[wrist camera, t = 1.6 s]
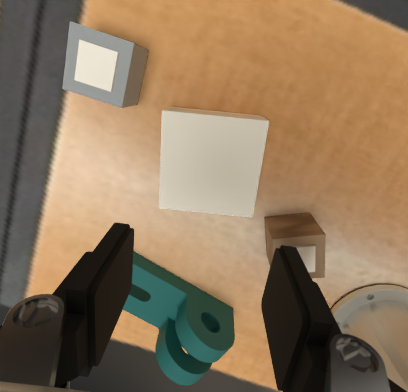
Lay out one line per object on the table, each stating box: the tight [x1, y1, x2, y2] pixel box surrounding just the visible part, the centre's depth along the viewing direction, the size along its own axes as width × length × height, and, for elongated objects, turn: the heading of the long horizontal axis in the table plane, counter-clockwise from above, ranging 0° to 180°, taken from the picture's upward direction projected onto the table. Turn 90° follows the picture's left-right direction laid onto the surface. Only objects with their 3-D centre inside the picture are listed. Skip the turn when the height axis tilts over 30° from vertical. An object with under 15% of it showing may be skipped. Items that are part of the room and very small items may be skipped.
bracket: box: [123, 252, 235, 385], centre depth 33 cm, size 18×7×8 cm, turn 56°
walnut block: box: [264, 213, 325, 278], centre depth 30 cm, size 5×5×5 cm
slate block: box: [62, 21, 149, 108], centre depth 24 cm, size 5×5×5 cm
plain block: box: [159, 107, 269, 218], centre depth 27 cm, size 9×9×5 cm
